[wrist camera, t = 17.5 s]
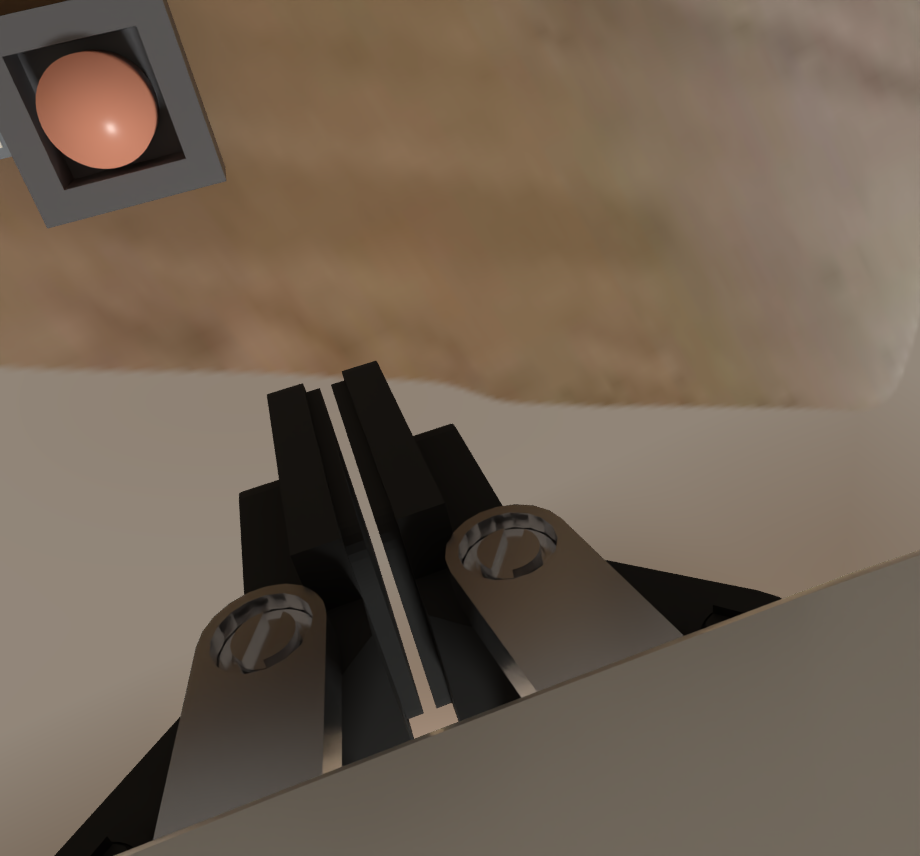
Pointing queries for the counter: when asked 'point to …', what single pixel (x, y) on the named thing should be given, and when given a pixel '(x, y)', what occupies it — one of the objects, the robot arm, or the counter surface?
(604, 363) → the counter surface
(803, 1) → the counter surface
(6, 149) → the picture board
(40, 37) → the button box
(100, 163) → the button
